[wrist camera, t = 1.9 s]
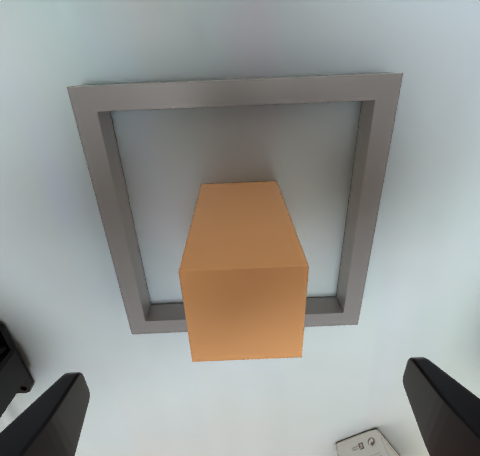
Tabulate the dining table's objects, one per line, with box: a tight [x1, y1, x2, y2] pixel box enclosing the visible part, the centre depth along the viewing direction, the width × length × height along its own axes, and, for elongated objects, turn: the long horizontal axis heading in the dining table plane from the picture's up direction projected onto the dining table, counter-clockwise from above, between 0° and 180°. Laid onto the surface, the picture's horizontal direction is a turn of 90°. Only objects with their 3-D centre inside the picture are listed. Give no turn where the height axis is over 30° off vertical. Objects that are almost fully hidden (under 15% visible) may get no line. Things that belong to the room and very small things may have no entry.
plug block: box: [179, 181, 309, 362], centre depth 14 cm, size 4×4×8 cm
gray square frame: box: [67, 73, 403, 334], centre depth 17 cm, size 14×14×2 cm
